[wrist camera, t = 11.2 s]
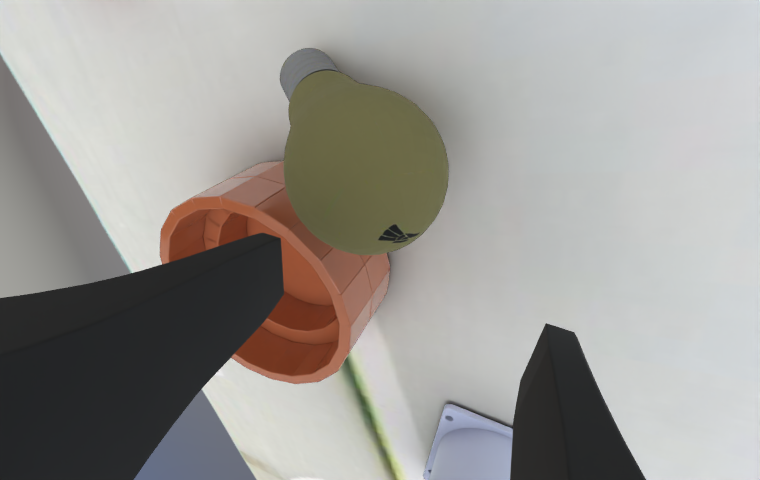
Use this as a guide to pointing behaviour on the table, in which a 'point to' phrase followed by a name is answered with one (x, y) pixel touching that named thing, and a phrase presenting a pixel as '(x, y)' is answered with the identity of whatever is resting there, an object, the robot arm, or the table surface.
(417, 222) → the light bulb
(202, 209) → the bowl
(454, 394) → the table surface
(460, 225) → the table surface
